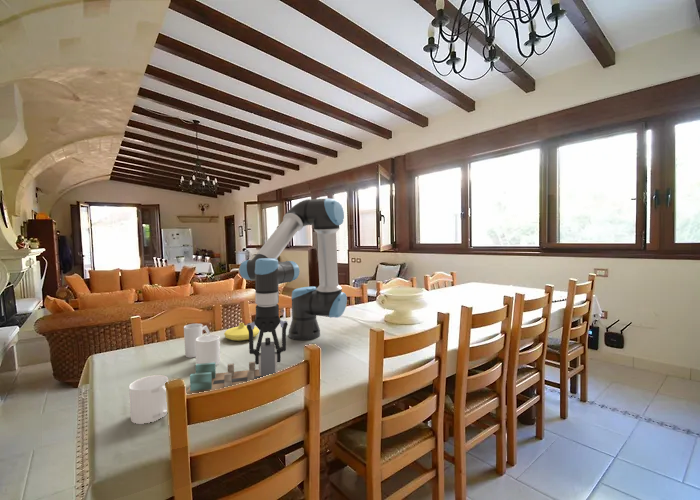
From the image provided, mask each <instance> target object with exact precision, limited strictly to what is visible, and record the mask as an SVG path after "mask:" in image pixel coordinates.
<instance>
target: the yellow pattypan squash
mask: <svg viewBox="0 0 700 500" xmlns="http://www.w3.org/2000/svg"><path fill="white" fill-rule="evenodd" d="M238 325H239V326H235V327H230V328H228V329H227V330H225V331H224V334H223V335H224V337H225V338H226V339H228V340H231V341H236V342H237V341H239V342H240V341H242V342H243V341H246V340H248V341H249V331H248V329H247V325H245V323H244V322H239V324H238ZM259 333H260V330H259V329H258V328H257V326H254V329H253V338H254V337H256V336H259Z"/></svg>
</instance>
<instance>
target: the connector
mask: <svg viewBox="0 0 700 500" xmlns="http://www.w3.org/2000/svg"><path fill="white" fill-rule="evenodd" d="M264 339H265V340H264V341H263V342H261V346H260V353H261V377H262V376H266V375H269V374H273V373H275V351H276V347H275V343H274V340H273V341H271V337H265V338H264ZM275 374H276V373H275Z"/></svg>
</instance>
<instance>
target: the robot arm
mask: <svg viewBox="0 0 700 500" xmlns="http://www.w3.org/2000/svg"><path fill="white" fill-rule="evenodd" d="M344 220H345V212H344V208H343V205H342V204H341V202H340V201H339V200H338V199H336V198H313V199H308V198H307V199H304V200H301V201H299V202H298V203H296V204H295V205H294V206H292V207H290V209H288V211H287V212H286V213H285V214H284V215H283V217H282V221H281V223H279V225H278V226H277V228H276V229H275V230H274V232H273V233H272V234H271V235H270V237H269V238H268V239H267V240H266V241H265V243H264V244H263V245H262V246H261V248H260V249H259V250H258V252H256V254H255V255H254V257H253V258H252V259H245V260H243V261H242V262H241V263H240V265H239V274H240V275H239V276H240V277H241V278H242V279H244V280H247V281H255V292H254V294H255V298H254V299H255V305H256V306H255V319H254V321H253V322H250V323H249V322H248V323H247V324H246V326H247V329H248V331H249V339H248V349H249V350H248V351H249V354H250V355H254V359H255V361H254V362H255V365H258V369H259V375H261V342H262V341H263V337H264V333H265V334H266V333H271V334H272V338H273V341H274V343H275V372H277V373H278V363H281V361H282V360H281V359H282V358H281V354H282V352H286V350H287V328H288V321H287V320H282V319H281V318H280V307H279V306H280V305H279V296H280V295H279V285H282V284H284V283H291V282H293V281H296V280H297V279H298V277H299V276H300V271H301V270H300V267H299V265H298V263H296V262H295V261H293V260H286V261H279V257H280V255H281V254H282V252H283V251H284V250H285V248H286V247H287V246H288V244H289V243H290V242H291V240H293V238H294V236H295V235H296V234H297V232H300V231H302V229H303V228H304V227H306V226H313V227H312V228H313V231H314V232H316V238H317V252H318V253H317V259H318V263H317V264H318V279H319V282H318V283H319V285H318V286H313V285H312V286H303V287H297V288H295V289H293V290H292V291H291V323H290V325H289V329H288V337H289V338H290V339H292V340H296V341H308V340H314V339H316V338H319V337H320V336H321V329H320V325H319V322H318V319H317V317H318V316H319V317H325V318H326V317H327V318H330V319H331V318H337V319H338V318H340V317H342V316H343V314H344V312H345V310H346V308H347V302H348V297H347V296H348V295H347V294H346V293H345V292H343V291H342V286H341V285H340V284H339V273H338V270H339V269H338V249H337V248H338V247H337V232H338V231H339V230H340V226H342V224H343V223H344ZM279 325H280V328H281V346H280V343H279V338H278V336H277V331H276V329H277V328H278V326H279ZM254 327H257V328H258V329H259V333H258V338H257V342H256V346H255V348H254V337H253V329H254Z"/></svg>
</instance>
